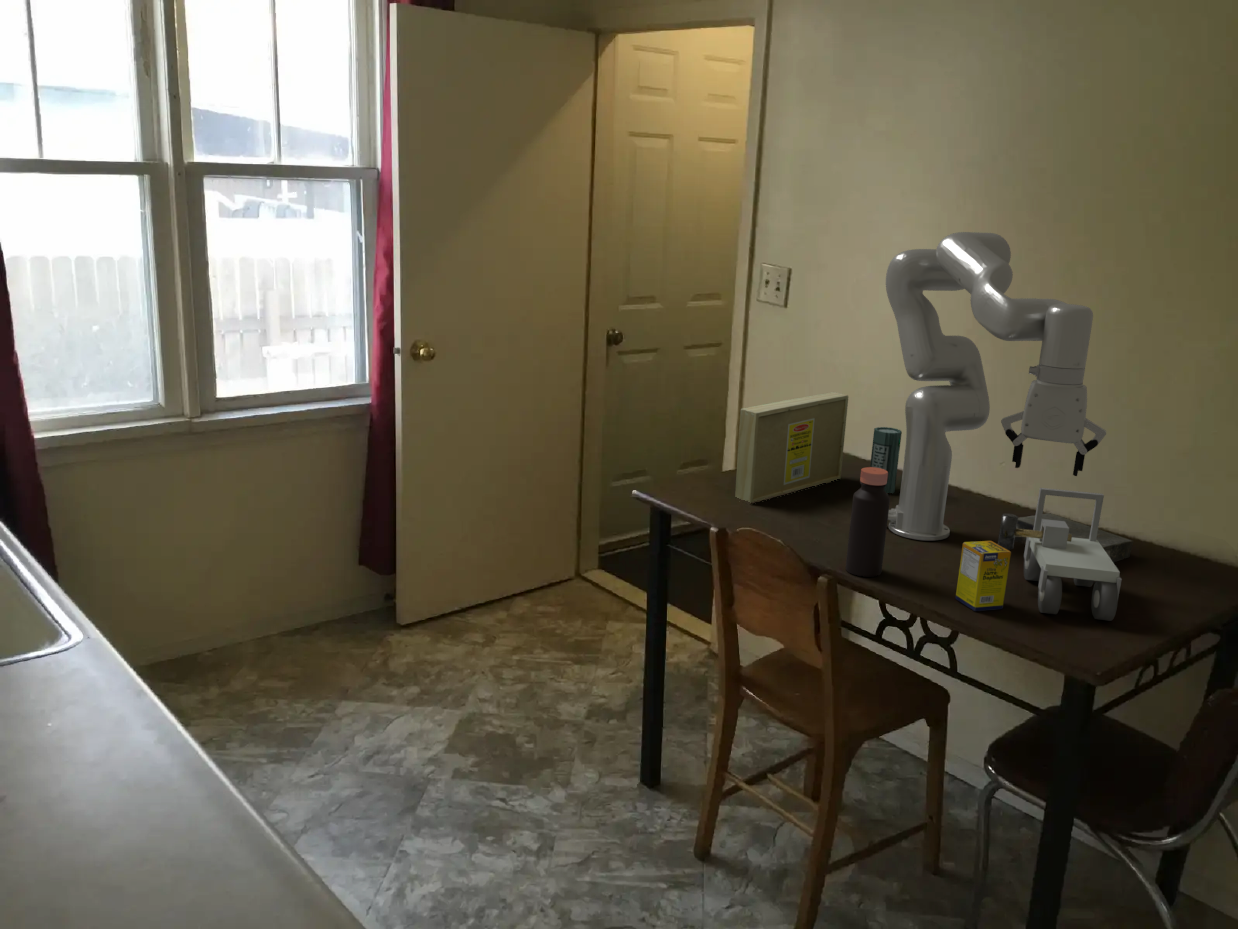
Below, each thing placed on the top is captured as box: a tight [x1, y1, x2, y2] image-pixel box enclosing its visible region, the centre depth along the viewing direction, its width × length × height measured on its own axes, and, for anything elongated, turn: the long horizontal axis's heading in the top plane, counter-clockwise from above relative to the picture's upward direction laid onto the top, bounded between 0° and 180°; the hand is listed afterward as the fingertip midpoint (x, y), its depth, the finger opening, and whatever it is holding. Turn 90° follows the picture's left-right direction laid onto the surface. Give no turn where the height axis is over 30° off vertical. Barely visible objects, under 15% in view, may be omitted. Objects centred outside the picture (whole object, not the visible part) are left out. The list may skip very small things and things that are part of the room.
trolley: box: [1023, 487, 1123, 622], centre depth 188 cm, size 13×23×18 cm, turn 168°
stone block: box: [1014, 512, 1134, 563], centre depth 217 cm, size 14×20×5 cm
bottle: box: [845, 466, 891, 578], centre depth 196 cm, size 7×7×20 cm
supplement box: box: [955, 540, 1012, 612], centre depth 184 cm, size 6×6×11 cm
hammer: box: [997, 513, 1072, 550], centre depth 192 cm, size 12×3×6 cm, turn 78°
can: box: [869, 426, 902, 494], centre depth 250 cm, size 6×6×15 cm
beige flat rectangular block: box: [734, 391, 849, 503], centre depth 246 cm, size 35×5×22 cm, turn 133°
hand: (1046, 470), depth 187 cm, fingers open, 9 cm apart
